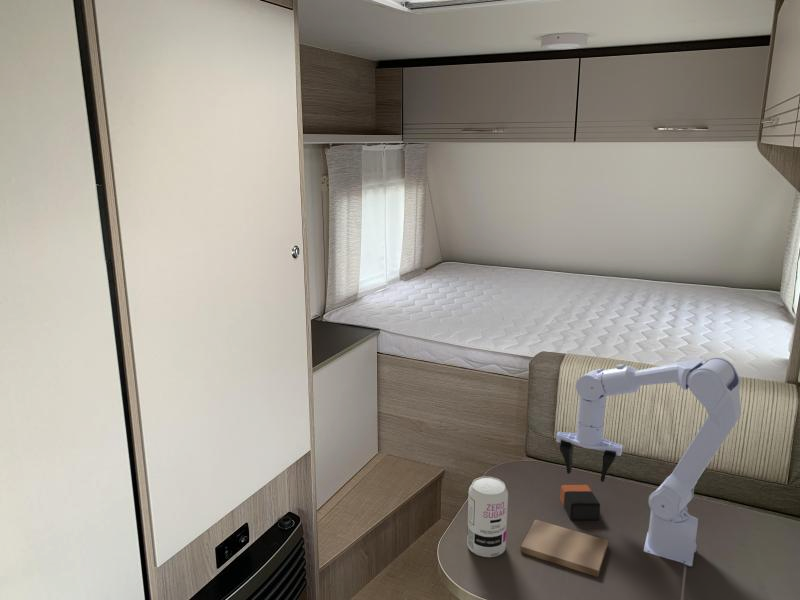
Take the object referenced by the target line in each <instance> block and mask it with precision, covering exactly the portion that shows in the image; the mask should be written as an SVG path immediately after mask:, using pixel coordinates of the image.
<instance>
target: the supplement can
mask: <svg viewBox="0 0 800 600" xmlns="http://www.w3.org/2000/svg"><path fill="white" fill-rule="evenodd" d="M467 498H468V500H467V504H468V505H467V530H466V531H467V533H466V536H467V537H466V538H467V539H466V545H467V548H468V549H469V550H470V551H471V553H473V554H475V555H476V556H479V557H482V558H483V557H484V558H494V557H495V558H496V557H498V556H500V555H502V554H503V553H504V552H505V551H506V547H507V544H506V543H507V542H506V541H507V525H508V524H507V523H508V506H509V505H508V503H509V491H508V490H507V487H506V484H505V482H504V481H502V480H501V479H499V478H497V477H494V476H480V477H478V478H477V477H476V478H475V479H474V480H472V483H471V485H470V486H469V489H468V497H467Z"/></svg>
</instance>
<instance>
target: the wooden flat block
mask: <svg viewBox="0 0 800 600" xmlns="http://www.w3.org/2000/svg"><path fill="white" fill-rule="evenodd" d="M608 545H609V540H608V539H605V538H601V537H598V536H594V535H590V534H588V533H585V532H580V531H578V530H574V529H570V528H566V527H564V526H563V527H562V526H559V525H556V524H553V523H550V522H547V521H542V520H539V519H534V521H533V523H532V524H531V526H530V528H529V530H528V533H527V534H526V536H525V538H524V539H523V542H522V543H521V545H520V553H523V554H525V555H528V556H531V557H534V558H537V559H539V560H540V559H541V560H543V561H546V562H550V563H553V564H554V565H555V564H556V565H559V566H562V567H564V568H568V569H571V570H573V571H574V570H575V571H578V572H581V573H583V574H584V573H585V574H587V575H590V576H593V577H597V578H598V577H599V575H600V573H601V569H602V567H603V566H602V565H603V562H604V559H605V555H606V553H607V550H608Z"/></svg>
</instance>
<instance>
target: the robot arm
mask: <svg viewBox="0 0 800 600" xmlns="http://www.w3.org/2000/svg"><path fill="white" fill-rule="evenodd" d="M705 360H706V358H696V359H695V358H694V359H689V360H684V361H678V362H674V363H673V362H672V363H669V364H663V365H658V366H654V367H648V368H643V369H637V368H635V367H634V366H631V365H625V364H624V363H621V364H617V365H616V368H614V367H613V368H610V369H609V368H608V369H604V368H603V367H602V368H598V369H593V370H591V371H588V372H587V373H585V374H584V375H582V376H580V377H579V378H578V379H577V381H576V382H575V390H576V393H577V394H578V396H579V397H578V399H579V400H578V409H577V422H576V423H577V424H576V432H565V431H563V432H562V431H558V432H557V433H556V437H555V442H556V443H559V444H560V445H559V451H560V453H561V455H562V457H563V460H564V464H565V467H566V474H569V475H571V473H572V471H573V454H574V453H573V452H574V446H578V447H581V448H585V449H588V450H597V451H600V452H601V451H602V452H604V453H603V455H602V468H601V469H602V470H601V476H600V482H605V480H606V475H607V472H608V470H609V469H610V467H611V465H612V464H613V463H614V461H615V459H616V457H617V456H619V457H621V456H622V454H623V446H624V445H623V444H620V443H617V442H614V441H612V440H609V439H606V438H603V432H604V423H605V422H604V420H605V411H606V398H607V397H608V396H609V397H610V396H616V395H624V394H631V393H632V394H633V393H636V392H638V391H639V390H640V388H641V386H652V385H660V384H670V383H671V384H672V383H676V385H678V386H679V387H680V388H682V389H683V390H684V391H687V390H689V391H690V392H691V394H692V395H693V396H694V397H695V398H696V400H698V401H699V403H700V404H701V405H702V406H703V407H704V409H705V411H706V413H707V414H708V415H707V416H708V417H707V418H706V419H705V421H704V422H703V424H702V426H701V427H700V428H699V430H698V432H697V433H696V435H695V436H694V438H693V439H692V441H691V443H690V444H689V446H688V447H687V449H686V450H685V452H684V453H683V455H682V457H681V458H680V460H679V461H678V463H677V465H676V466H675V467H674V469H673V471H672V473H670V475H669V476H667V477H666V478H665V479H664V480H663V482H662V483H661V484H660V485H659V486H658V487H657V489H656V490H654V491H653V492H651V493H650V495H649V497H648V507H649V508H650V516H649V525H648V531H647V533H646V536H645V543H644V546H643V547H644V548H643V552H645V553H647V554H651V555H654V556H657V557H661V558H664V559H668V560H671V561H675V562H679V563H682V564H684V566H687V567H693V564H694V555H695V553H696V551H697V545H698V544H697V543H696V541H697V540H696V539H697V532H698V525H699V518H698V517H695V516H693V515H691V514H690V513H689V511H688V506H687V505H688V504H689V503H690V502H691V501H693V500H692V499H693V497H694V495H695V493H694V491H695V490H694V489H695V487H696V484H697V483H698V480H699V479H700V478H701V476H702V474H703V473H704V471H705V470H706V469H707V467H708V465H709V464H710V463H711V461H712V460H713V458H714V457H715V455H716V454H717V452H718V451H719V449H720V448H721V446H722V445H723V443H724V442H725V440H726V439H727V437H728V436H729V434H730V433H731V431H732V430H733V428H734V427H735V426H736V424H737V423H738V421H739V419H740V418H741V415H742V410H741V409H742V408H741V407H742V406H741V395H740V393H741V392H740V386H741V378H740V376H739V373H738V372H737V369H736V368H735V367H734V365H733V364H732V363H731V362H730V361H729V360H728V359H726V358H723V357H718V356H716V357H711V358H709V359H707V360H706V361H705ZM704 361H705V362H704ZM703 362H704V363H703Z"/></svg>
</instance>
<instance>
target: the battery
mask: <svg viewBox="0 0 800 600" xmlns="http://www.w3.org/2000/svg"><path fill="white" fill-rule="evenodd" d="M559 496H560V497H559V500H560V503H561V504H562V506H563V508H564V511H566V514H567V515H568V518H569V519H570V520H571V521H599V520H600V511H601V503H600V502H599V500H598V498H597V497H596V495H595V494H594V492H593V491H592V489H591V488H590V487H589V485H588V484H562V485H561V486H560V495H559Z"/></svg>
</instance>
